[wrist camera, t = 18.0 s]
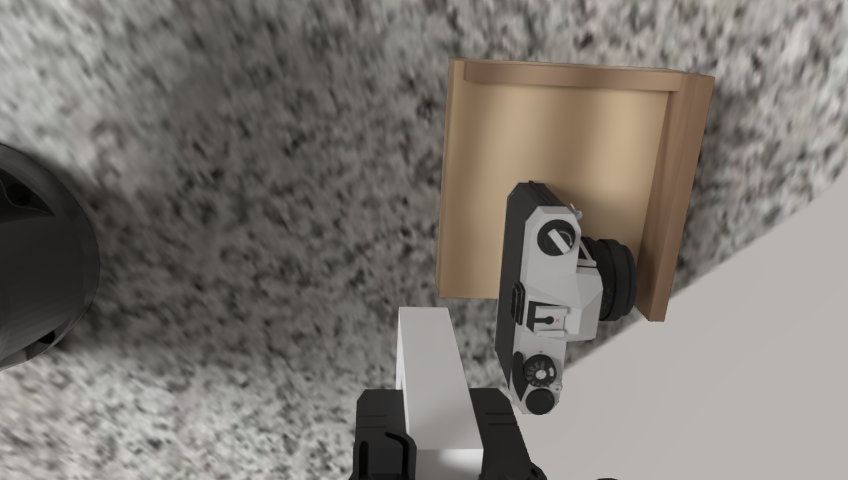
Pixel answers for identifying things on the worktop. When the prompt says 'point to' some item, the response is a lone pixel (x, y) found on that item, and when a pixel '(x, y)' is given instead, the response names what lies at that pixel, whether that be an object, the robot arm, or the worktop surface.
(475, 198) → the wooden corner tray
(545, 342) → the camera
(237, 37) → the worktop surface
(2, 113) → the worktop surface
